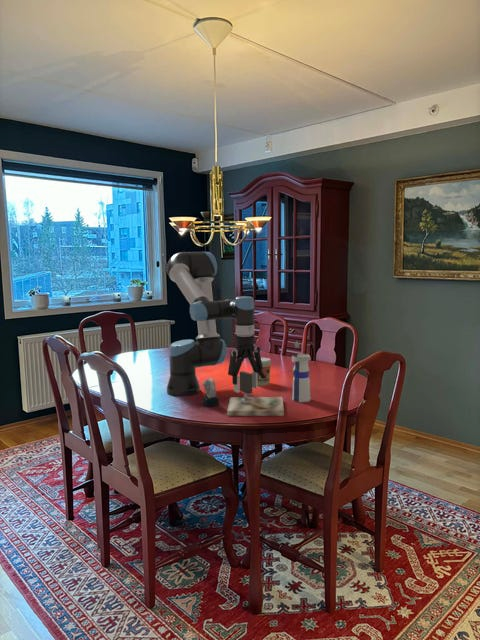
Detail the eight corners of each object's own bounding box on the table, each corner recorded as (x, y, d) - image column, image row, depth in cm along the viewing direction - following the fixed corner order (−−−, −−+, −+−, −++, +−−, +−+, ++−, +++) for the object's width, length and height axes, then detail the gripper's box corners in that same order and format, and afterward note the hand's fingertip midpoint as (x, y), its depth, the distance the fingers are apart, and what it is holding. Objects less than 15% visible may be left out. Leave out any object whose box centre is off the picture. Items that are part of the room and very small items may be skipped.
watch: (214, 401, 207) (213, 376, 206) (220, 406, 200) (219, 380, 198) (201, 402, 205) (201, 377, 204) (207, 408, 198) (206, 382, 196)
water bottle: (286, 399, 207) (286, 342, 204) (299, 395, 213) (299, 339, 210) (302, 403, 202) (302, 344, 198) (314, 399, 208) (314, 341, 204)
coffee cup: (255, 387, 228) (255, 362, 227) (249, 382, 237) (249, 358, 236) (274, 385, 231) (273, 360, 229) (267, 380, 240) (267, 356, 238)
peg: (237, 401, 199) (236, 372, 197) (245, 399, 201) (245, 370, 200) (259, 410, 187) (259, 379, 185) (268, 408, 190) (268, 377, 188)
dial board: (227, 415, 188) (227, 410, 188) (230, 401, 206) (230, 396, 206) (283, 415, 187) (283, 410, 187) (282, 401, 205) (282, 396, 205)
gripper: (228, 339, 185) (230, 396, 188) (271, 333, 197) (271, 387, 200) (217, 337, 190) (219, 392, 193) (259, 331, 203) (260, 383, 206)
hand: (245, 389), depth 197 cm, fingers open, 9 cm apart
